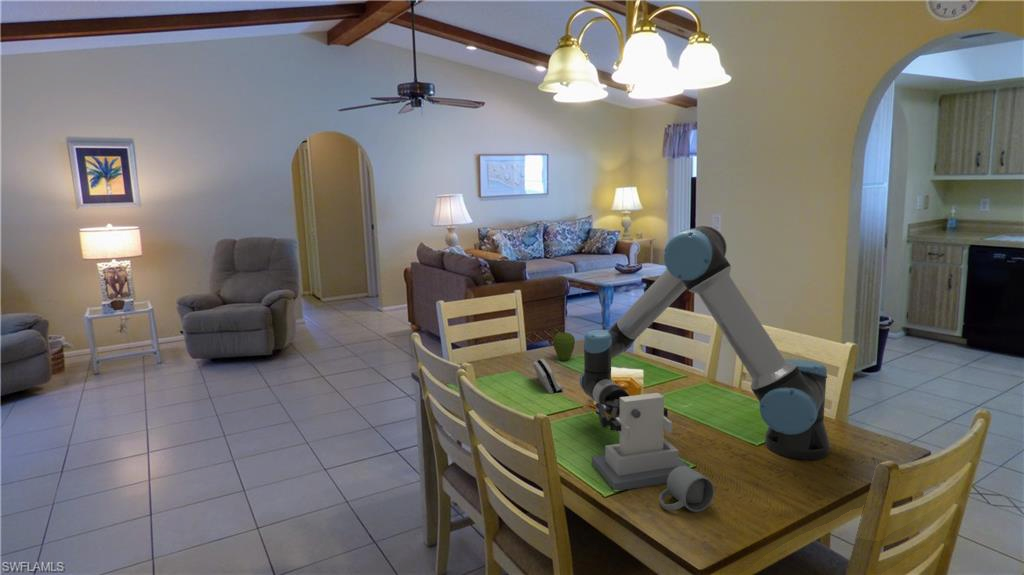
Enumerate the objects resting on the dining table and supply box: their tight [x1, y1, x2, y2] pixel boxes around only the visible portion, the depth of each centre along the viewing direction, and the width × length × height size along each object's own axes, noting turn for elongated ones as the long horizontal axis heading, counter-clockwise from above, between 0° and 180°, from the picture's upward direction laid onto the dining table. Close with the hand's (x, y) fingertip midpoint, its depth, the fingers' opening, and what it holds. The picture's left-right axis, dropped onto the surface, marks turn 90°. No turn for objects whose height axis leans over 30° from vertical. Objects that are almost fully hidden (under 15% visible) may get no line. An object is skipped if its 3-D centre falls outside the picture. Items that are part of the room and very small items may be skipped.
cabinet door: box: [619, 392, 665, 457], centre depth 143 cm, size 10×4×15 cm, turn 104°
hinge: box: [532, 358, 565, 394], centre depth 208 cm, size 17×5×10 cm, turn 11°
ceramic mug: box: [658, 466, 715, 513], centre depth 131 cm, size 11×8×8 cm
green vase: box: [552, 331, 576, 362], centre depth 235 cm, size 9×8×12 cm
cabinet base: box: [591, 437, 691, 491], centre depth 146 cm, size 20×14×6 cm
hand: (649, 430), depth 140 cm, fingers closed on cabinet door, 10 cm apart
